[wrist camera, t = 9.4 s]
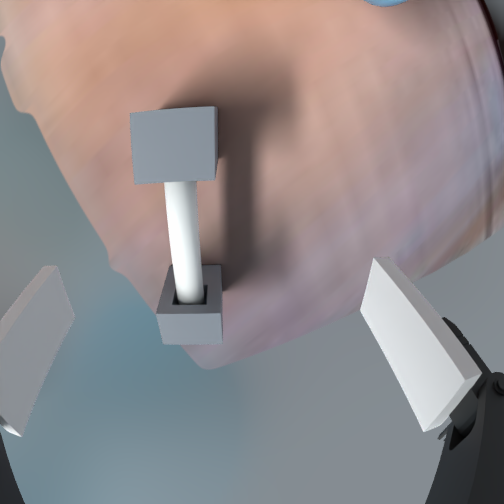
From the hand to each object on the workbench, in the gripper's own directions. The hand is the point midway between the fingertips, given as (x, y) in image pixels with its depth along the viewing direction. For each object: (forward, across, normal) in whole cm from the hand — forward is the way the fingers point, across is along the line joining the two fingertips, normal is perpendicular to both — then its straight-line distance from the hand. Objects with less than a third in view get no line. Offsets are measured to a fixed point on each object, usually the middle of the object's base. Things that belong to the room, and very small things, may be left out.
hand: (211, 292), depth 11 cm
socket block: (+35, -5, -22) cm, 41 cm away
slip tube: (+28, -5, -10) cm, 31 cm away
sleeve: (+35, -5, +3) cm, 35 cm away
